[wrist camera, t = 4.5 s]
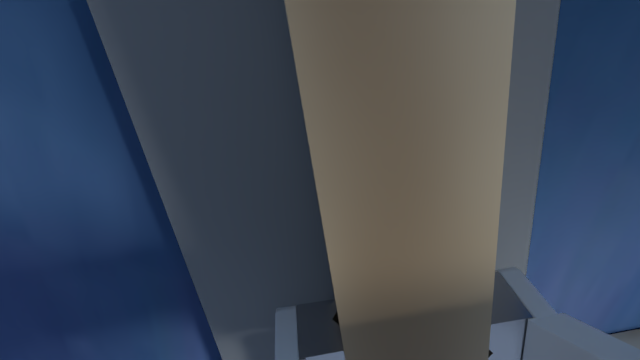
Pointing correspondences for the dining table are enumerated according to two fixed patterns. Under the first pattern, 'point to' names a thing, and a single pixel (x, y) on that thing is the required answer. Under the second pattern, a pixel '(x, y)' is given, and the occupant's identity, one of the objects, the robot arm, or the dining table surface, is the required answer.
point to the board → (629, 337)
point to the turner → (407, 165)
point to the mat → (273, 150)
